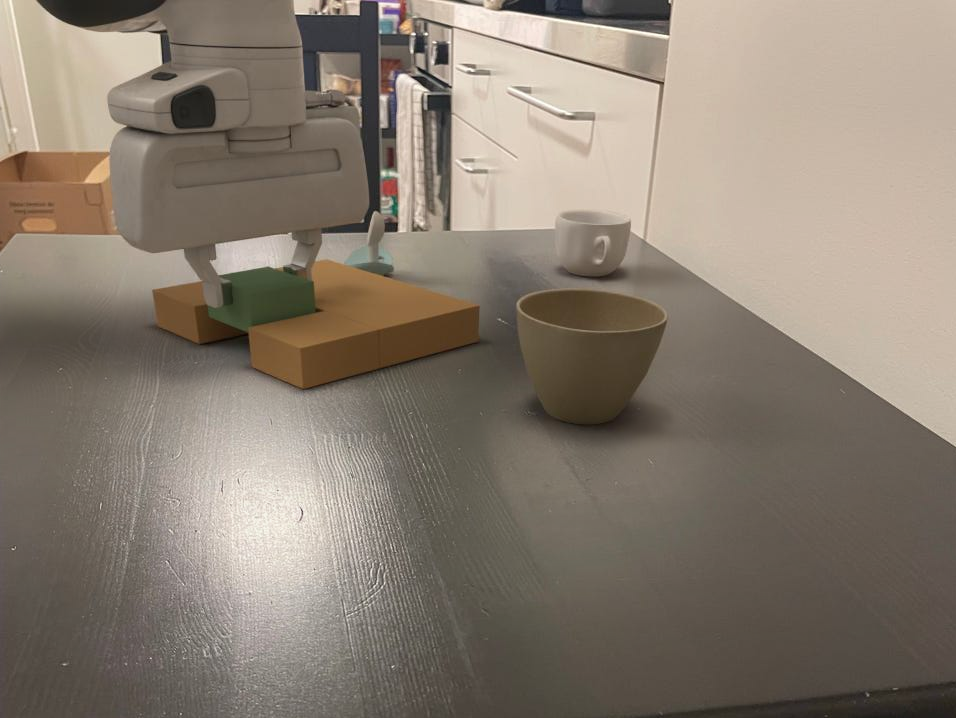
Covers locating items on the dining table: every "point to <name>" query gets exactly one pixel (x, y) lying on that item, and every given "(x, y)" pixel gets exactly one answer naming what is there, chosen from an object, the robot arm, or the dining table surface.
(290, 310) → the green block
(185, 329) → the brown notched block
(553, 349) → the bowl
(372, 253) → the pacifier
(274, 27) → the robot arm
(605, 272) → the teacup
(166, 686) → the dining table surface
